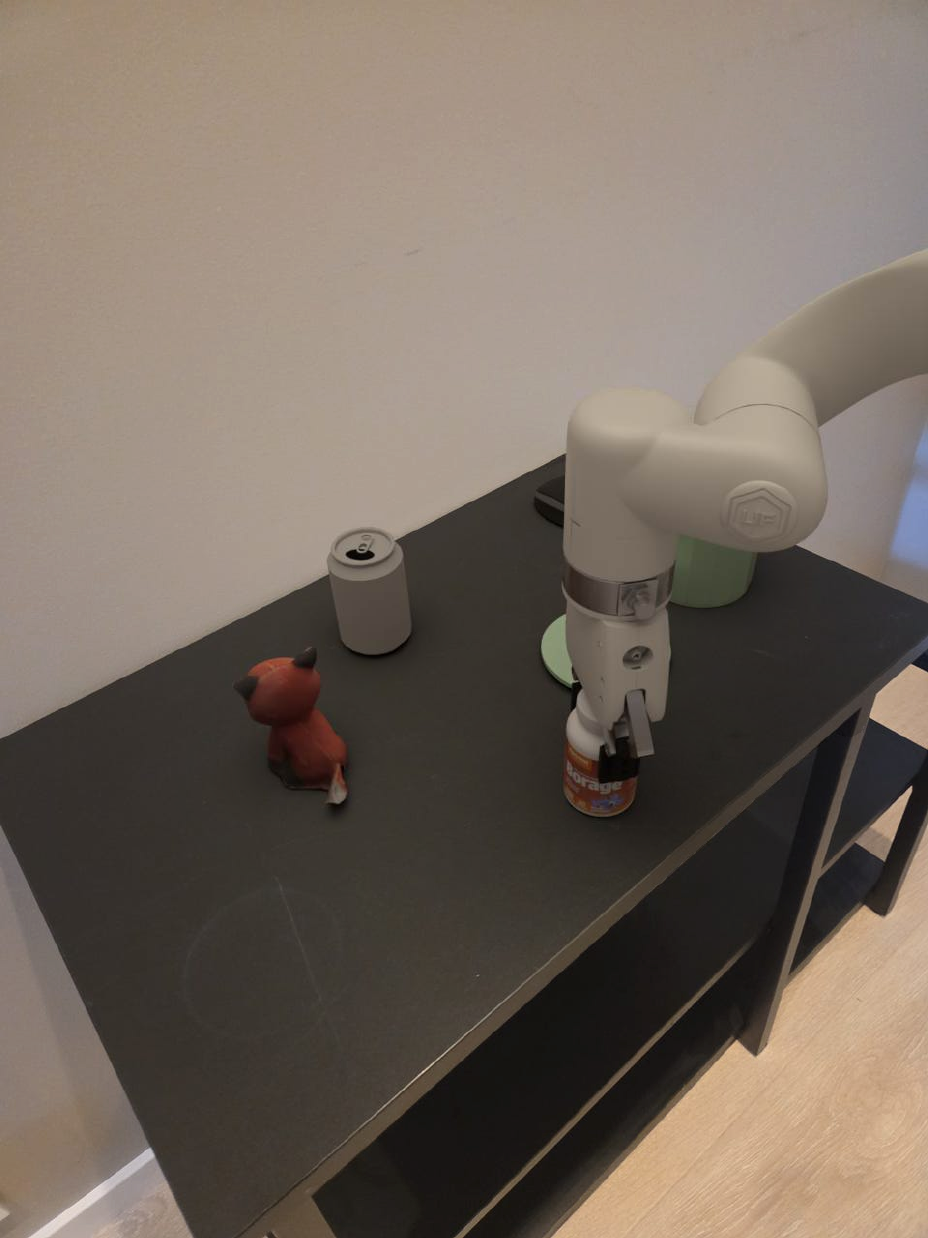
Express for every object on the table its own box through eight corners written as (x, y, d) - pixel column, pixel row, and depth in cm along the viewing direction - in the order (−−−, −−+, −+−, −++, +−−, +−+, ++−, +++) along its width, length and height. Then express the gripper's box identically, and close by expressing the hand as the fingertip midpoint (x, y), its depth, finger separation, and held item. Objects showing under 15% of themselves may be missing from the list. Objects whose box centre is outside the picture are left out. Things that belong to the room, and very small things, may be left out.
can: (331, 655, 89) (312, 562, 82) (355, 609, 95) (339, 517, 87) (400, 664, 88) (387, 570, 80) (420, 617, 93) (410, 524, 86)
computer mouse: (594, 546, 101) (596, 518, 99) (521, 506, 109) (521, 478, 106) (634, 522, 105) (636, 494, 102) (560, 484, 112) (561, 457, 109)
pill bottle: (552, 806, 74) (555, 716, 66) (576, 754, 78) (581, 665, 71) (623, 829, 71) (634, 739, 64) (644, 775, 76) (656, 684, 68)
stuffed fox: (312, 836, 72) (286, 741, 65) (244, 761, 79) (213, 666, 71) (384, 787, 76) (368, 690, 68) (313, 718, 83) (291, 623, 75)
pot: (722, 536, 102) (738, 441, 94) (769, 597, 93) (792, 498, 85) (626, 552, 100) (635, 457, 92) (665, 616, 91) (678, 517, 83)
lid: (642, 605, 93) (646, 563, 89) (690, 687, 83) (697, 643, 80) (526, 626, 91) (526, 583, 88) (562, 712, 82) (563, 668, 78)
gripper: (724, 643, 53) (688, 821, 65) (626, 495, 66) (611, 666, 78) (607, 665, 52) (592, 841, 64) (530, 511, 65) (530, 681, 77)
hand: (603, 744), depth 71 cm, fingers closed on pill bottle, 6 cm apart
